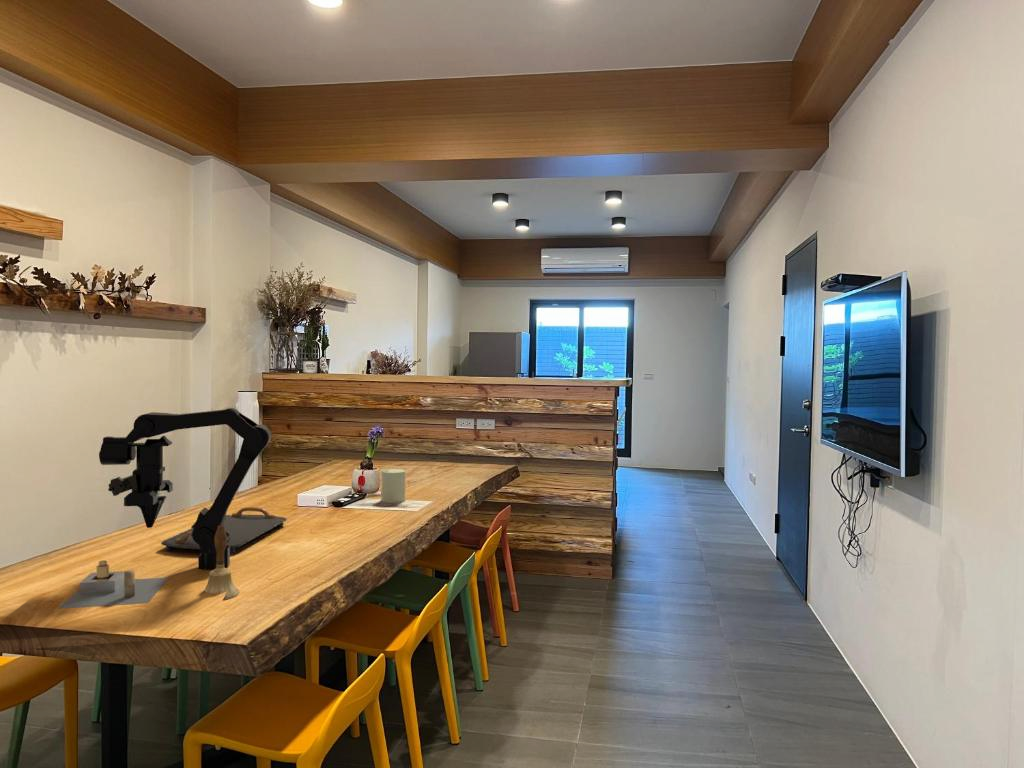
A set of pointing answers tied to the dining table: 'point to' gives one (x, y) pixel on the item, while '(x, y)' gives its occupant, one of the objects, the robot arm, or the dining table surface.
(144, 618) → the dining table surface
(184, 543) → the serving board
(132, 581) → the stand rod
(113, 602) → the board
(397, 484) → the can
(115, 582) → the square hole block
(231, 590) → the hand bell
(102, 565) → the brass knobbed cylinder
